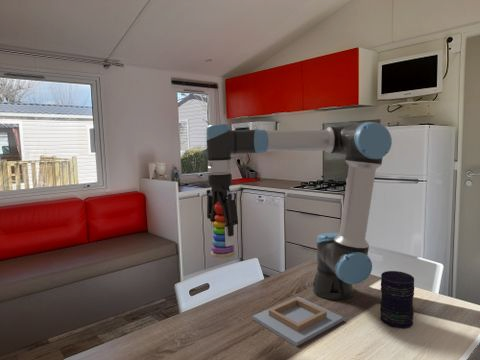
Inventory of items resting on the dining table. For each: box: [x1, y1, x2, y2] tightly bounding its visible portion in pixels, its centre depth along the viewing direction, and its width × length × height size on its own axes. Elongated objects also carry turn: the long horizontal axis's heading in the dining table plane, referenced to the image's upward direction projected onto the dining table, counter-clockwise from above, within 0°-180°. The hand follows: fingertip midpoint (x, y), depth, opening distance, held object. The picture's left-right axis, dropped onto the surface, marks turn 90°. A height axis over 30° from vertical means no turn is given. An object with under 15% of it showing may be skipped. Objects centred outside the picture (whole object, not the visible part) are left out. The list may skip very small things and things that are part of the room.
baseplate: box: [252, 296, 344, 347], centre depth 115 cm, size 22×20×3 cm
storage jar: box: [379, 270, 415, 330], centre depth 112 cm, size 10×10×15 cm
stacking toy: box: [210, 201, 236, 260], centre depth 114 cm, size 8×8×19 cm
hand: (222, 242), depth 114 cm, fingers closed on stacking toy, 7 cm apart
